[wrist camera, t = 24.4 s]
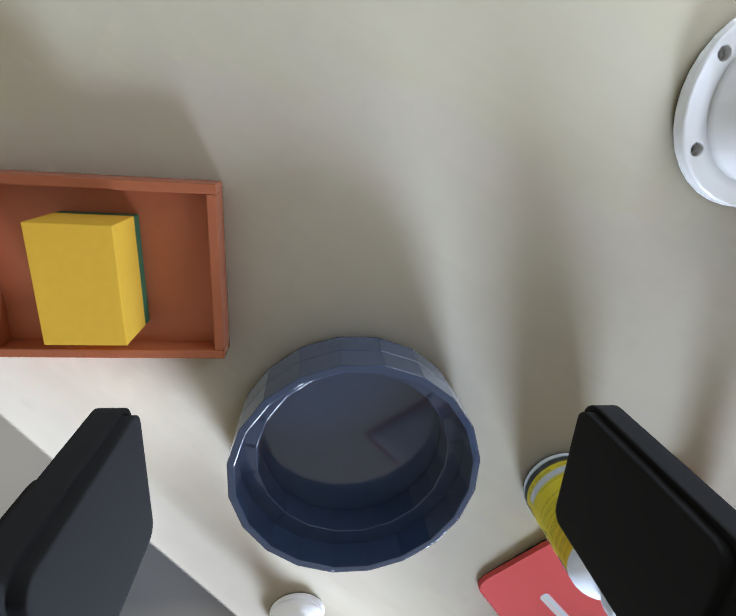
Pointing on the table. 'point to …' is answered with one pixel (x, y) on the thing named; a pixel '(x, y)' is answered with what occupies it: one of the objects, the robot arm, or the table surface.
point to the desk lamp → (536, 587)
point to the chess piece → (297, 606)
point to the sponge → (87, 277)
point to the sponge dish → (160, 256)
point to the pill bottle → (542, 503)
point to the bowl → (351, 456)
